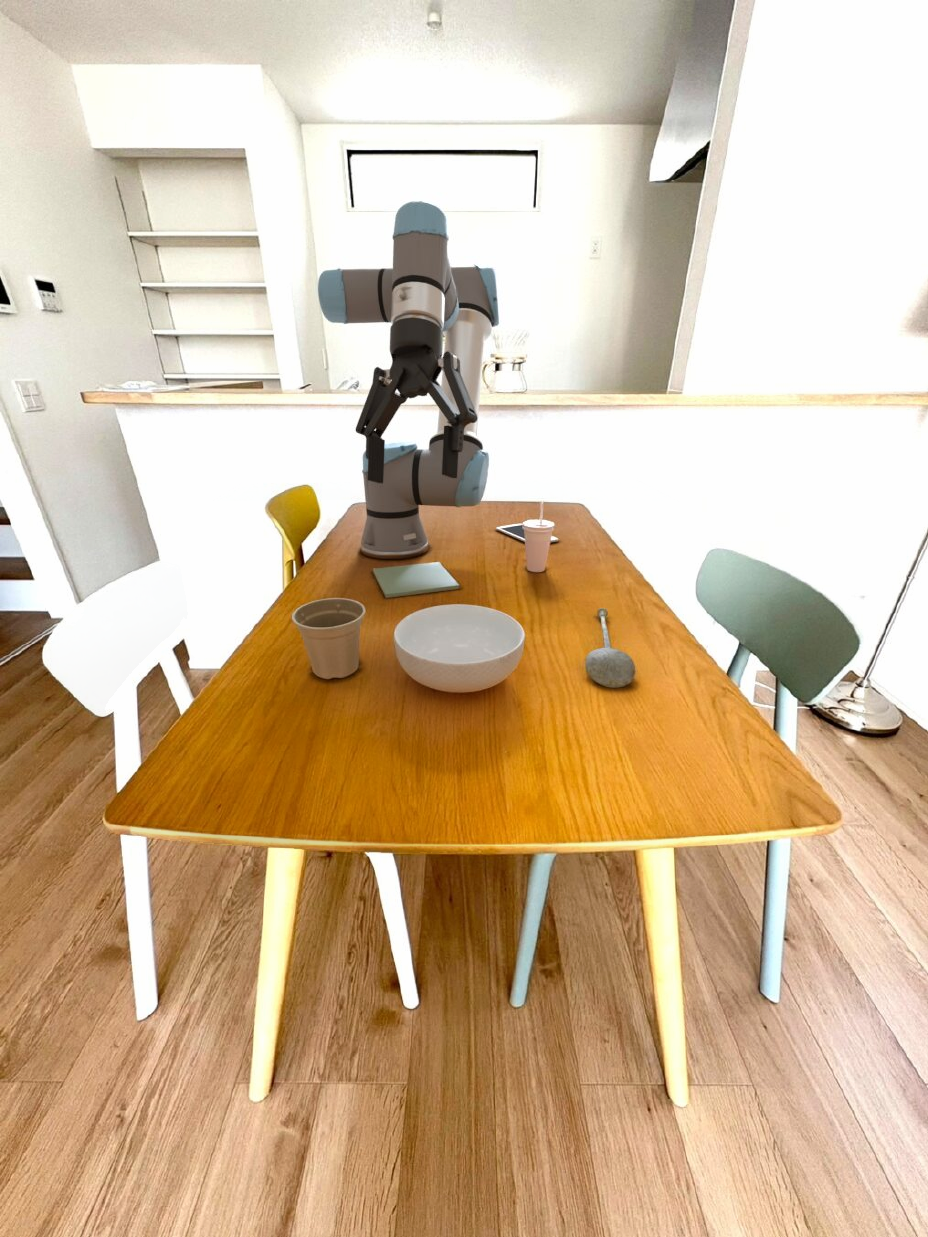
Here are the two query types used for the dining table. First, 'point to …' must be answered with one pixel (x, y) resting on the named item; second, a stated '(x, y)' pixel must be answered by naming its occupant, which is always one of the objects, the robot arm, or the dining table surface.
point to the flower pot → (331, 635)
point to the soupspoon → (609, 661)
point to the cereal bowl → (459, 647)
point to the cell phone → (517, 532)
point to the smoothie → (537, 542)
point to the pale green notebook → (414, 579)
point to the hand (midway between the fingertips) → (410, 479)
